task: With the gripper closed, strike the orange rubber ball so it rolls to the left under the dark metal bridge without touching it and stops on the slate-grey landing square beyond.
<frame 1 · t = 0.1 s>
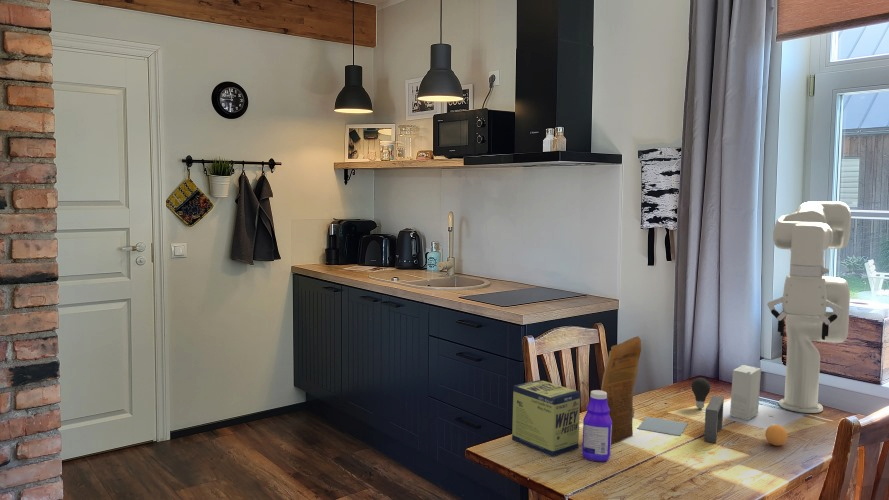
hand: (802, 337, 183), 31 cm above the table, tool pointing down, fingers open, 9 cm apart
stopper rail: (626, 420, 210), on the table
protein box: (544, 445, 190), on the table
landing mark: (662, 426, 205), on the table
skincare box: (744, 416, 216), on the table
bridge: (713, 434, 199), on the table
ball: (776, 435, 191), on the table
bottle: (596, 459, 180), on the table
light bulb: (699, 409, 222), on the table
pancake mix bag: (617, 439, 195), on the table
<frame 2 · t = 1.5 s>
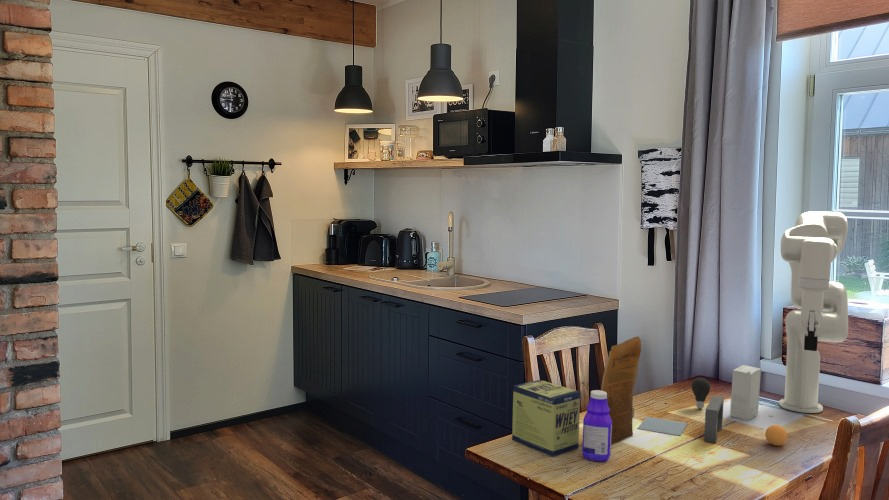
hand: (810, 349, 196), 25 cm above the table, tool pointing down, fingers closed
nothing on the table moved.
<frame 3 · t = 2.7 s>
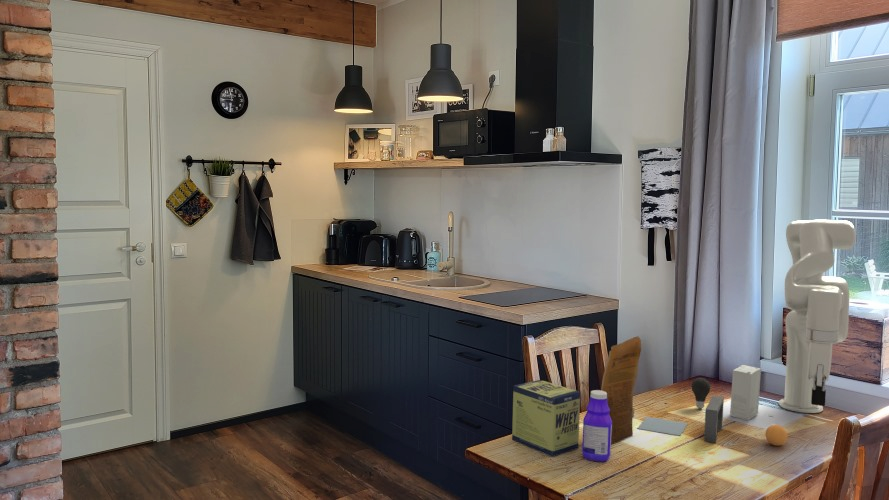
hand: (818, 404, 185), 13 cm above the table, tool pointing down, fingers closed
nothing on the table moved.
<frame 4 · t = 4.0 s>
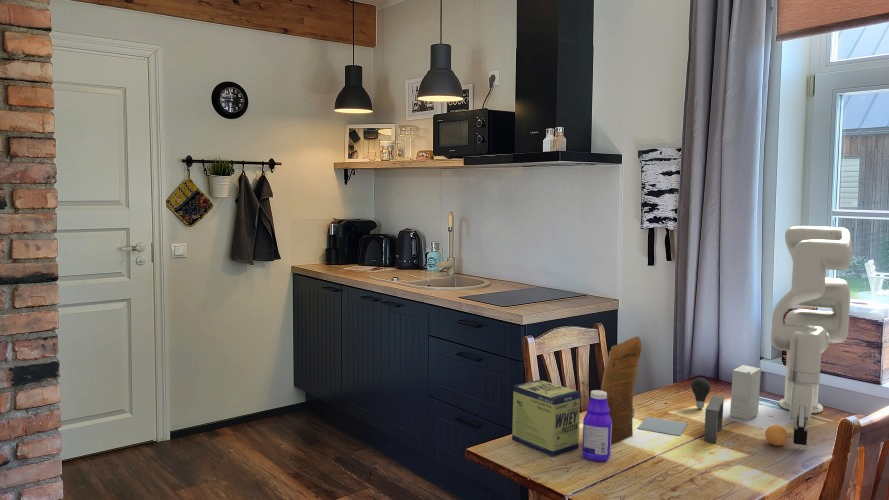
hand: (799, 443, 188), 1 cm above the table, tool pointing down, fingers closed
nothing on the table moved.
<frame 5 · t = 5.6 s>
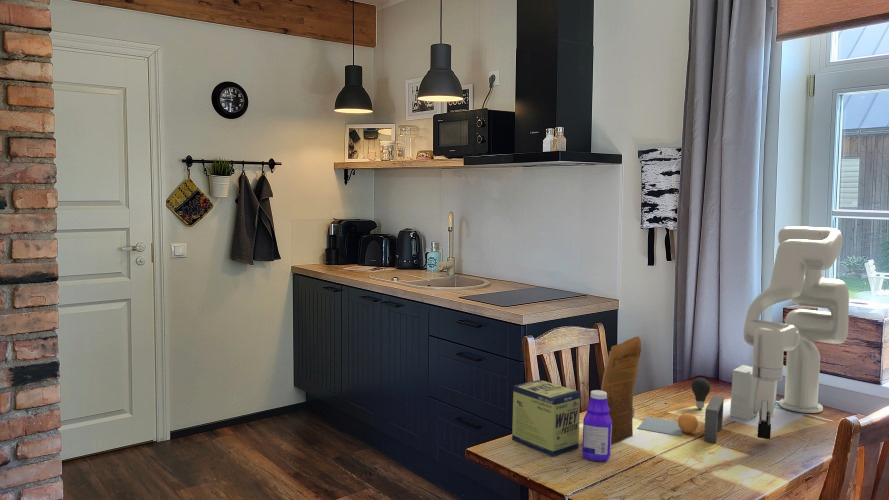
hand: (763, 437, 193), 2 cm above the table, tool pointing down, fingers closed
ball: (687, 422, 200), on the table
everything else where it was.
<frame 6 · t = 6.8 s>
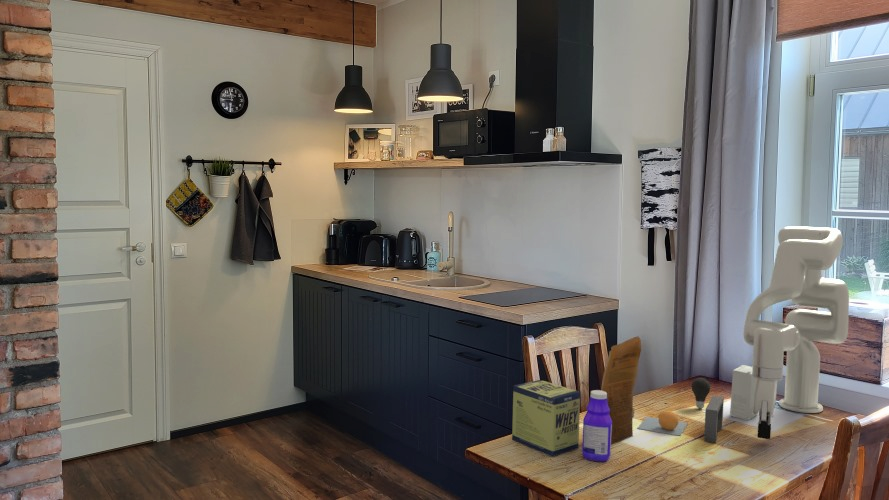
hand: (763, 437, 193), 2 cm above the table, tool pointing down, fingers closed
ball: (668, 420, 203), on the table
everything else where it was.
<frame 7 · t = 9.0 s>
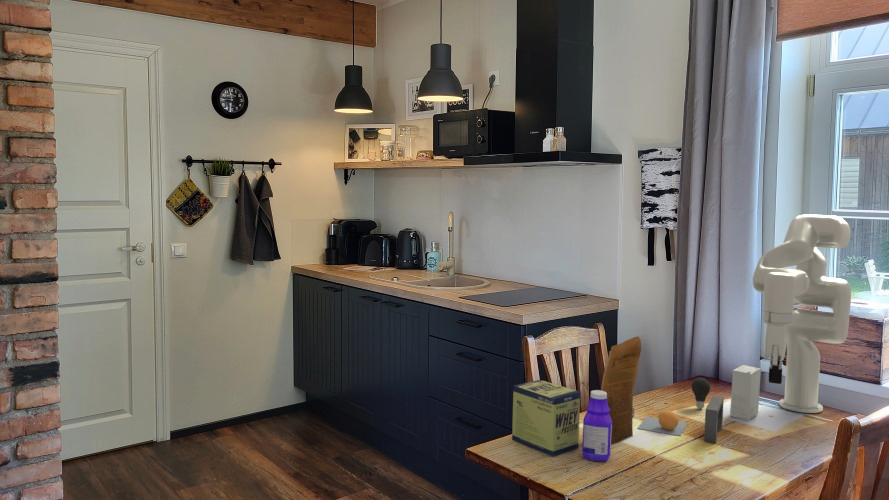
hand: (775, 382, 194), 16 cm above the table, tool pointing down, fingers closed
nothing on the table moved.
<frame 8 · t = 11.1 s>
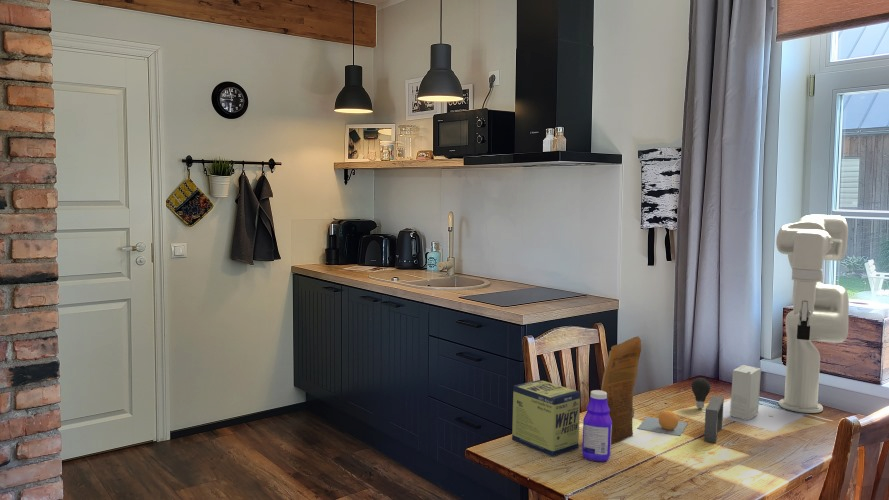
hand: (803, 339, 200), 27 cm above the table, tool pointing down, fingers closed
nothing on the table moved.
at the end: ball 2.8 cm from the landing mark (horizontally); ball never touched bridge; ball at rest at the end (0.0 cm/s) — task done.
